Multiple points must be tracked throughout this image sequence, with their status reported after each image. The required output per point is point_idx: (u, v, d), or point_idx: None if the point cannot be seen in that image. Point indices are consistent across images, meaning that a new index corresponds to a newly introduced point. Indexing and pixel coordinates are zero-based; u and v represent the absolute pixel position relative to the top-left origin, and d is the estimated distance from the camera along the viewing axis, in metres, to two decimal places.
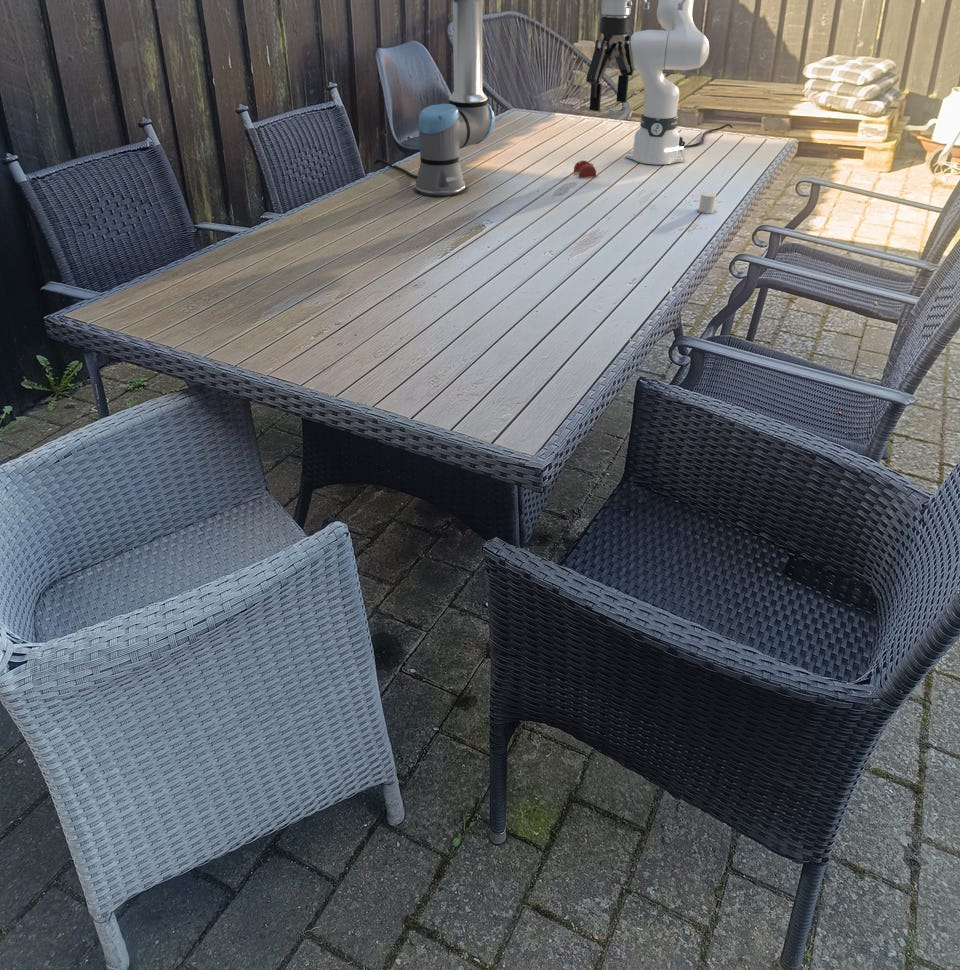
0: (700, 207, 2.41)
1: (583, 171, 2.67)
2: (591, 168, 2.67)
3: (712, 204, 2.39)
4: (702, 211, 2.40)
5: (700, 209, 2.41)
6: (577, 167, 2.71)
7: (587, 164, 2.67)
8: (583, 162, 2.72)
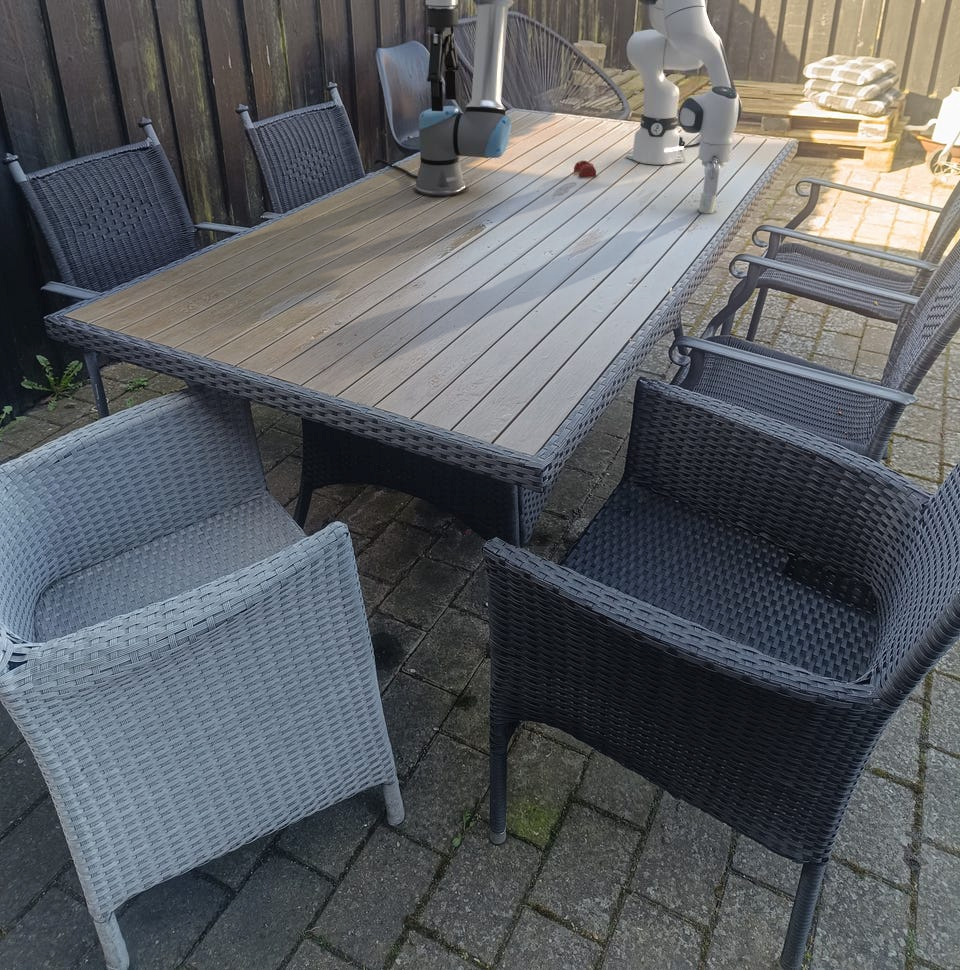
0: (700, 207, 2.41)
1: (583, 171, 2.67)
2: (591, 168, 2.67)
3: (712, 204, 2.39)
4: (702, 211, 2.40)
5: (700, 209, 2.41)
6: (577, 167, 2.71)
7: (587, 164, 2.67)
8: (583, 162, 2.72)
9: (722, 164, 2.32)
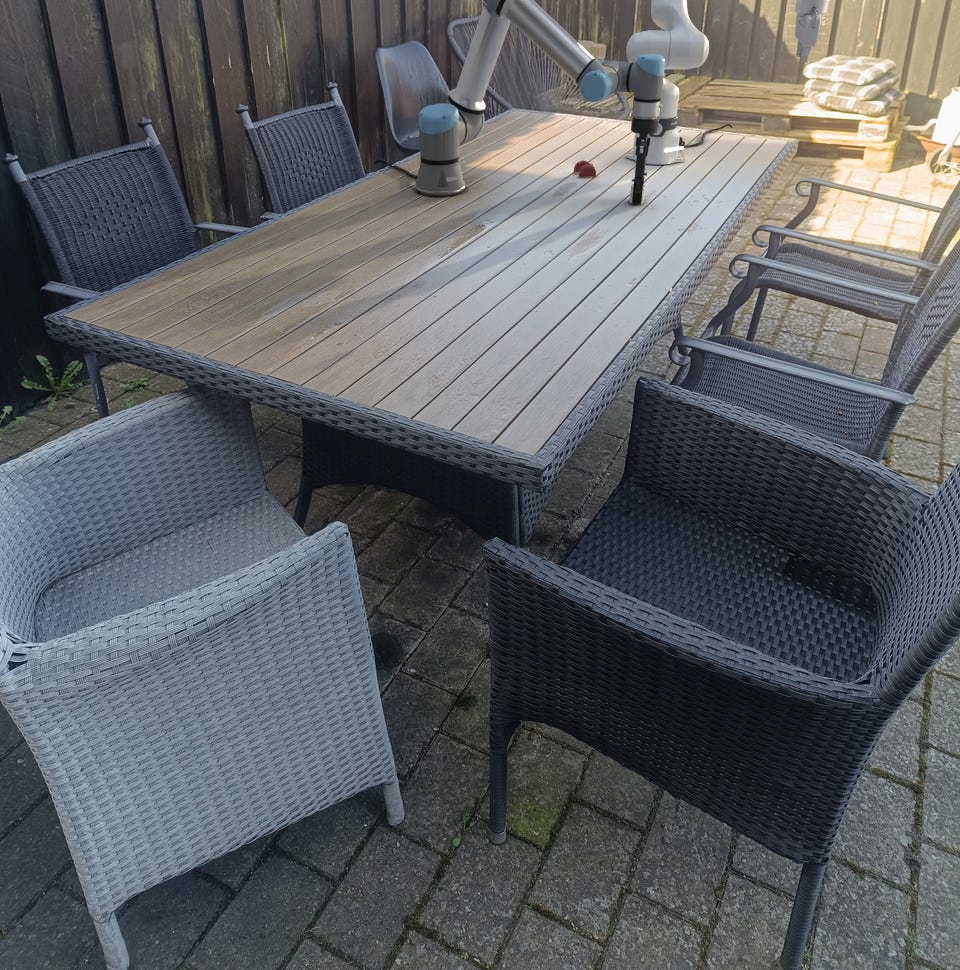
0: (630, 197, 2.48)
1: (583, 171, 2.67)
2: (591, 168, 2.67)
3: None
4: (630, 202, 2.48)
5: None
6: (577, 167, 2.71)
7: (587, 164, 2.67)
8: (583, 162, 2.72)
9: (819, 17, 2.39)
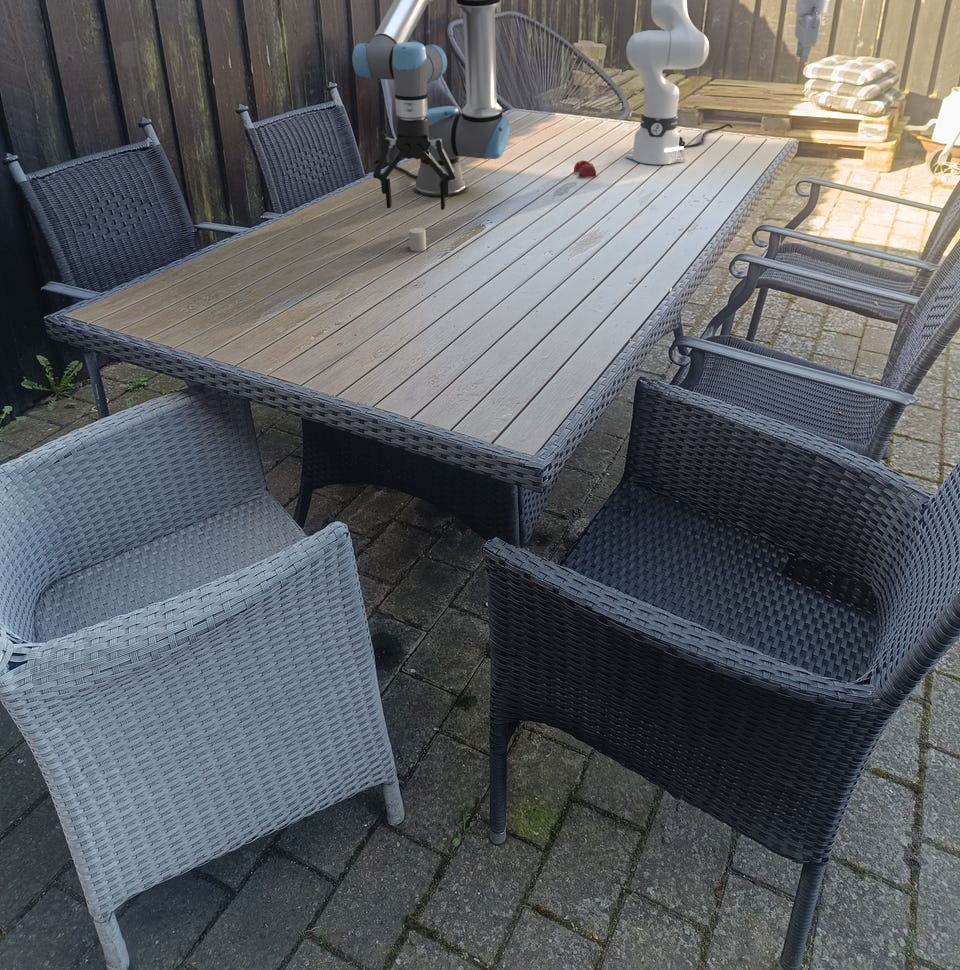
0: None
1: (583, 171, 2.67)
2: (591, 168, 2.67)
3: None
4: None
5: None
6: (577, 167, 2.71)
7: (587, 164, 2.67)
8: (583, 162, 2.72)
9: (819, 17, 2.39)
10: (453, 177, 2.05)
